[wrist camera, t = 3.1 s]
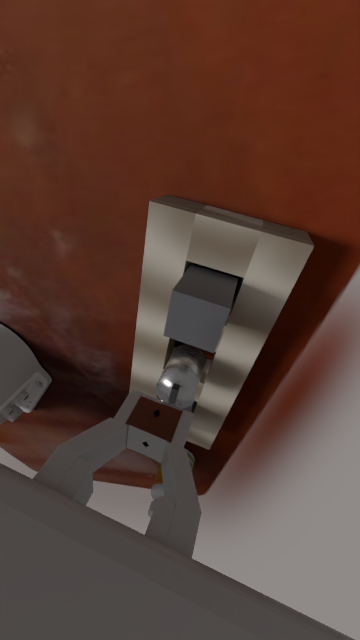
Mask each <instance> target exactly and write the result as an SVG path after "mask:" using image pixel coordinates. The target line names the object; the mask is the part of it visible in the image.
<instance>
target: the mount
mask: <svg viewBox="0 0 360 640" xmlns="http://www.w3.org/2000/svg"><path fill="white" fill-rule="evenodd" d="M313 248H314V244H313V242H312V240H311V238H310V236H309V234H308V232H306V231H302V230H298V229H294V228H291V227H287V226H283V225H279V224H276V223H272V222H268V221H264V220H261V219H257V218H253V217H249V216H246V215H242V214H238V213H235V212H231V211H227V210H223V209H220V208H216V207H212V206H208V205H205V204H201V203H197V202H193V201H190V200H186V199H182V198H178V197H175V196H171V195H165V196H162V197H159V198H157V199H154V200H151V201H150V202H149V211H148V221H147V230H146V240H145V249H144V259H143V268H142V278H141V287H140V296H139V306H138V315H137V325H136V334H135V344H134V353H133V362H132V372H131V381H130V391H131V390H132V389H135V390H137V391H140V392H142V393H144V394H147V395H149V396H151V397H154V398H156V399H158V395H157V393H156V385H157V383H158V381H159V379H160V377H161V375H162V373H163V371H164V369H165V367H166V365H167V363H168V361H169V359H170V357H171V355H172V353H173V351H174V349H175V348H176V347H174V345H175V341H176V340H174V339H171V338H169V337H166V336H163V335H164V330H165V325H166V319H167V314H168V309H169V304H170V299H171V293H172V290H173V288H174V287H175V286H176V284H177V283H178V282H179V280H180V279H181V277H182V276H183V275H184V273H185V272H186V271H187V269H188V268H189V267H190V265H191V264H192V265H193V264H194V263H196V264H199V265H203V266H206V267H209V268H213V269H216V270H219V271H223V272H226V273H229V274H233V275H236V276H239V277H242V278H241V281H240V284H239V287H238V289H237V292H236V295H235V297H234V300H233V303H232V305H231V308H230V311H229V314H228V317H227V319H226V322H225V325H224V328H223V330H222V333H221V336H220V338H219V341H218V344H217V347H216V349H215V352H214V354H213V357H212V360H210V359H208V358H206V364H205V367H204V370H203V373H202V377H201V380H200V383H199V386H198V389H197V393H196V396H195V399H194V403H193V407H192V410H191V412H192V413H194V417H193V420H192V424H191V427H190V430H189V433H188V436H187V439H186V441H189V442H191V443H194V444H196V445H198V446H201V447H203V448H206V449H208V450H209V449H210V447H211V445H212V443H213V441H214V440H215V438H216V436H217V434H218V432H219V430H220V428H221V426H222V424H223V422H224V420H225V418H226V416H227V414H228V412H229V410H230V409H231V407H232V405H233V403H234V401H235V399H236V397H237V395H238V393H239V391H240V389H241V387H242V385H243V383H244V381H245V380H246V378H247V376H248V374H249V372H250V370H251V368H252V366H253V364H254V362H255V360H256V358H257V356H258V354H259V352H260V350H261V349H262V347H263V345H264V343H265V341H266V339H267V337H268V335H269V333H270V331H271V329H272V327H273V325H274V323H275V321H276V319H277V318H278V316H279V314H280V312H281V310H282V308H283V306H284V304H285V302H286V300H287V298H288V296H289V294H290V292H291V290H292V289H293V287H294V285H295V283H296V281H297V279H298V277H299V275H300V273H301V271H302V269H303V267H304V265H305V263H306V261H307V259H308V258H309V256H310V254H311V252H312V250H313ZM130 391H129V393H130Z"/></svg>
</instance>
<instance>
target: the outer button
mask: <svg viewBox="0 0 360 640" xmlns="http://www.w3.org/2000/svg"><path fill="white" fill-rule="evenodd" d="M237 282H238V278H235V277H231V276H228V275H225V274H221V273H218V272H215V271H212V270H208V269H205V268H202V267H198V266H195V265H192V264H191V265H190V267H189V268H188V269H187V271H186V272H185V273H184V275H183V276H182V277H181V279H180V280H179V282H178V283H177V284H176V286H175V287H174V288H173V290H172V293H171V299H170V304H169V309H168V314H167V319H166V325H165V330H164V335H163V336H166V337H169V338H171V339H174V340H177V341H180V342H183V343H186V344H189V345H191V346H194V347H197V348H200V349H203V350H206V351H209V352H211V353H214V352H215V349H216V347H217V344H218V341H219V338H220V336H221V333H222V330H223V328H224V325H225V322H226V319H227V317H228V314H229V311H230V308H231V305H232V301H233V297H234V293H235V289H236V286H237Z"/></svg>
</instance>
